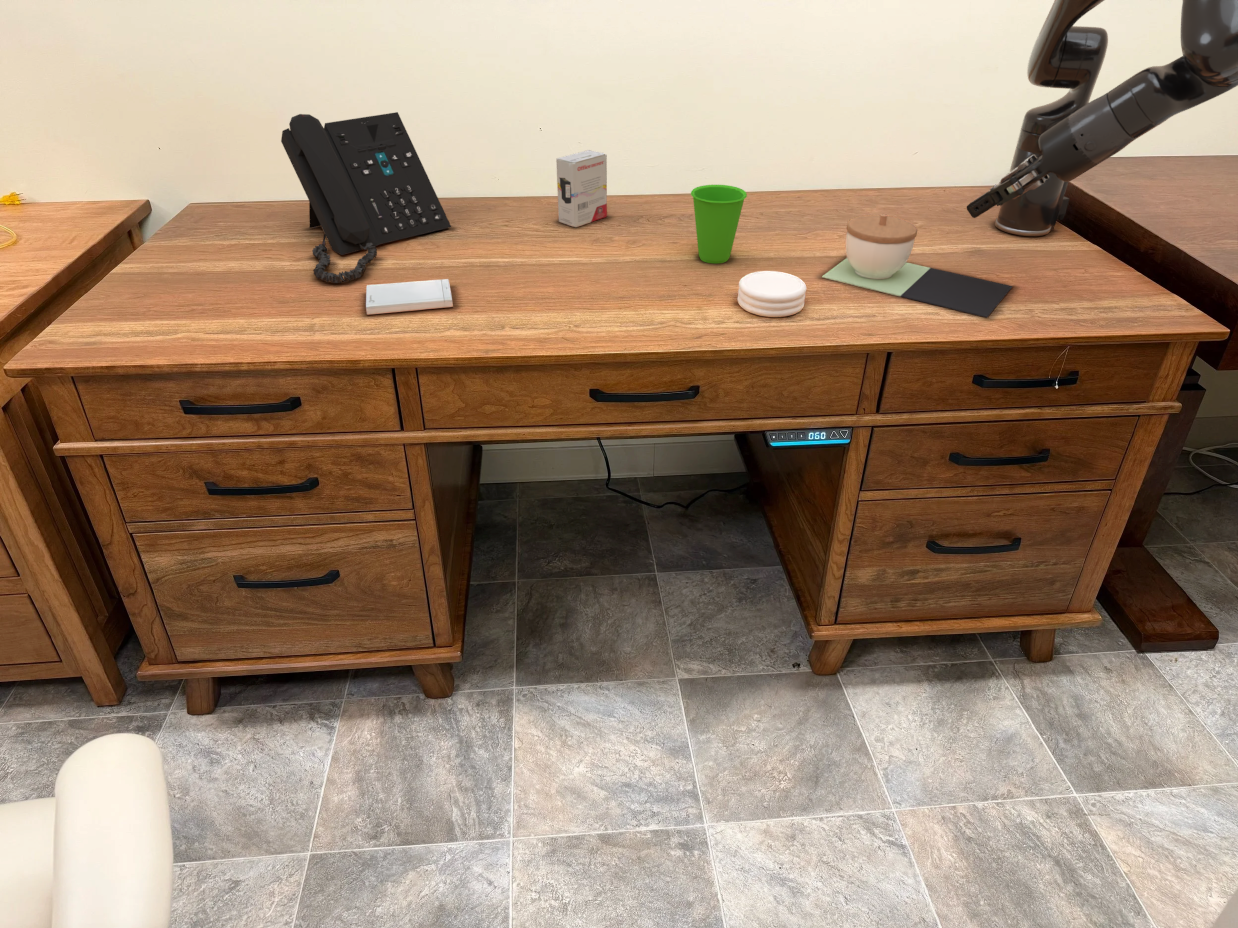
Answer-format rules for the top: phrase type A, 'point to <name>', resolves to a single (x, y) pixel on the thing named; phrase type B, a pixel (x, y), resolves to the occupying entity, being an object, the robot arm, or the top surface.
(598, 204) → the ink box
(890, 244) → the trinket box
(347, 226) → the office phone
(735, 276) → the top surface
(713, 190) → the cup
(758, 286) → the white round stack
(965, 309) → the runner mat
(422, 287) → the hard drive
